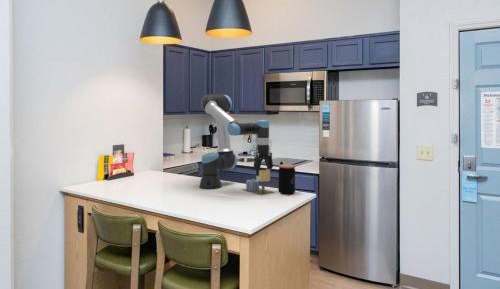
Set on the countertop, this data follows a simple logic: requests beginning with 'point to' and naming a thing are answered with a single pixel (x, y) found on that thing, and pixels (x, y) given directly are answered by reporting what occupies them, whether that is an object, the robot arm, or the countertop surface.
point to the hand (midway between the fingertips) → (263, 179)
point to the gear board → (260, 191)
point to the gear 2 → (264, 175)
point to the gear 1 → (252, 185)
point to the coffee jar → (286, 179)
